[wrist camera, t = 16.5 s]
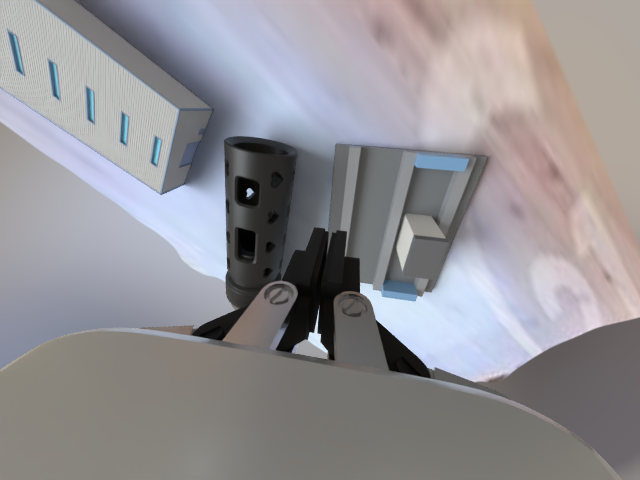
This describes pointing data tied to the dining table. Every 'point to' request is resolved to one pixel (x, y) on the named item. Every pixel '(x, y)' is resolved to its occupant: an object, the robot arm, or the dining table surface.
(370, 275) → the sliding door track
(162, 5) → the dining table surface
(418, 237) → the grey rectangular prism
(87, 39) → the warehouse
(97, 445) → the robot arm
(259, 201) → the muzzle brake
